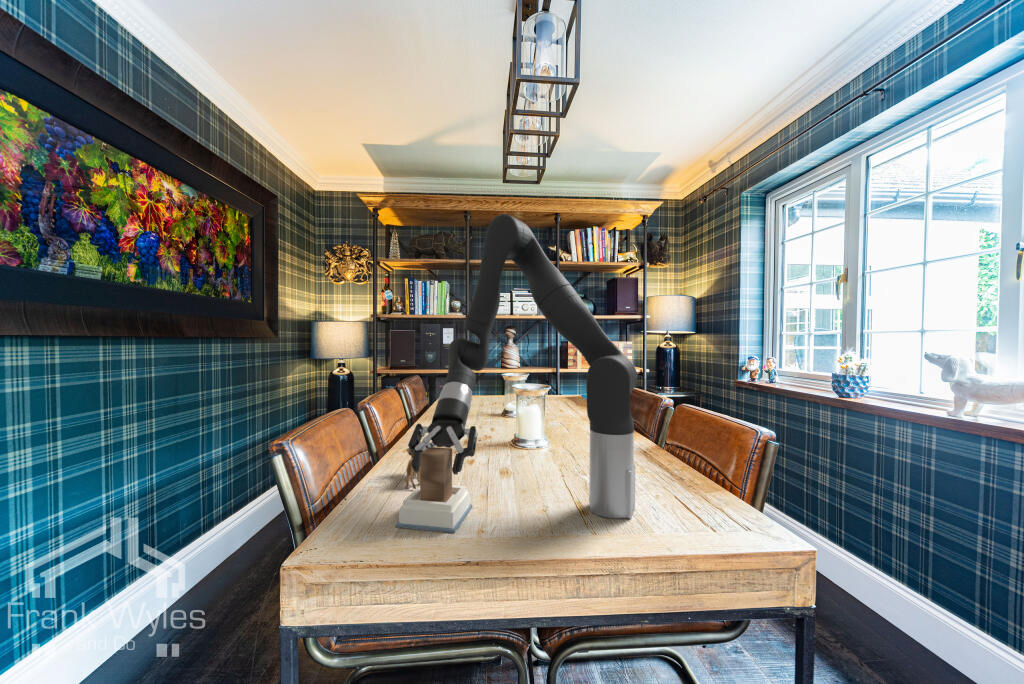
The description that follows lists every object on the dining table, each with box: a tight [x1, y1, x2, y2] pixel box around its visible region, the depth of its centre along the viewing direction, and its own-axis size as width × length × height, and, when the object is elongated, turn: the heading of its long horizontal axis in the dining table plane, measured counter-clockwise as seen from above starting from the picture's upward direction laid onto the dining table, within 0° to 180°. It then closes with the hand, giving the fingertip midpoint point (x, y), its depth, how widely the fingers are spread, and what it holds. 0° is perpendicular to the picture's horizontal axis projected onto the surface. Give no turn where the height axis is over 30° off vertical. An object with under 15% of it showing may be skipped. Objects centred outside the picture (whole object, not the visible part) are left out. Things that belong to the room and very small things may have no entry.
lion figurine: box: [404, 441, 422, 490], centre depth 106 cm, size 15×5×9 cm, turn 12°
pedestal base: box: [395, 485, 474, 534], centre depth 84 cm, size 12×12×5 cm
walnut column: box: [419, 446, 453, 502], centre depth 84 cm, size 5×5×10 cm
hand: (434, 471), depth 83 cm, fingers open, 8 cm apart
